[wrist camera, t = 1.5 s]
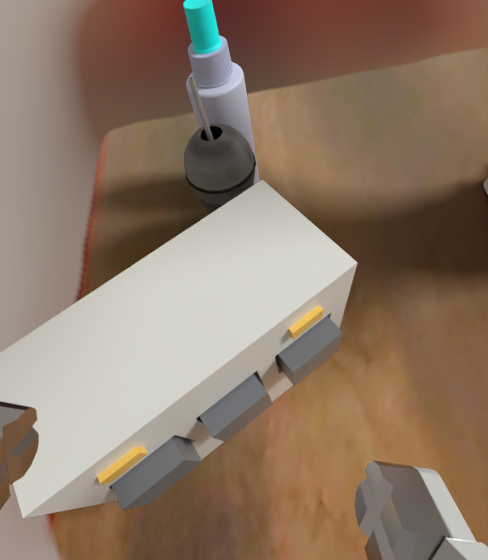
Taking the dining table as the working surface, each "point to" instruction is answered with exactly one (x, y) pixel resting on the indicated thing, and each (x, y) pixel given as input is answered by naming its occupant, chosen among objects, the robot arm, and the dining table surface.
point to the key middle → (236, 409)
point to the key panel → (169, 345)
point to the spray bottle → (216, 74)
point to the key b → (309, 350)
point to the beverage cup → (217, 161)
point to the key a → (156, 473)
